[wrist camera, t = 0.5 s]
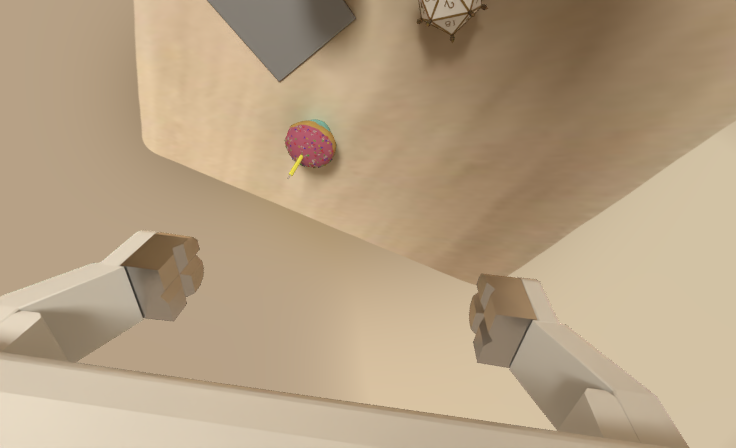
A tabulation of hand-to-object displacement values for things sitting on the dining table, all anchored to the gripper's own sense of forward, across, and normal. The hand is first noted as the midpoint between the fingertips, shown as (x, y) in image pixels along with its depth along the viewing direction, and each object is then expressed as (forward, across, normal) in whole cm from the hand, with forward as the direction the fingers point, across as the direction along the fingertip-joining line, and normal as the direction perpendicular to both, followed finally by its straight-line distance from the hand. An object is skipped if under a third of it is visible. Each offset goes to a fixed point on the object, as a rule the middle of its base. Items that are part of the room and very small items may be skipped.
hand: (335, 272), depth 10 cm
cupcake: (+53, +12, +14) cm, 56 cm away
